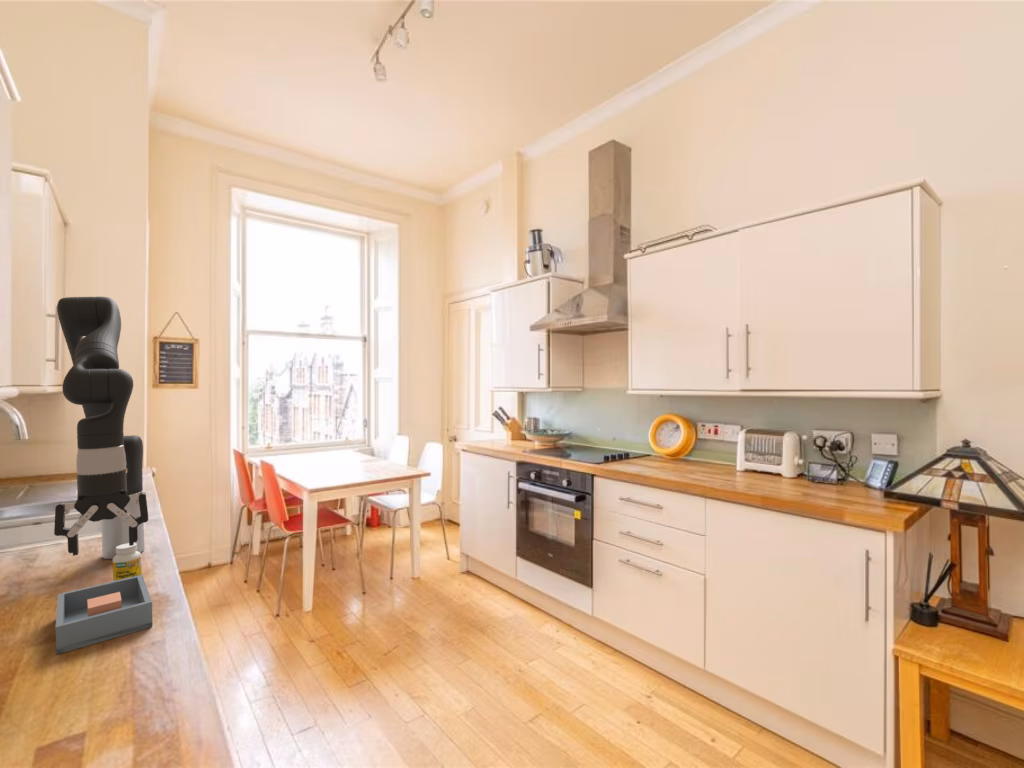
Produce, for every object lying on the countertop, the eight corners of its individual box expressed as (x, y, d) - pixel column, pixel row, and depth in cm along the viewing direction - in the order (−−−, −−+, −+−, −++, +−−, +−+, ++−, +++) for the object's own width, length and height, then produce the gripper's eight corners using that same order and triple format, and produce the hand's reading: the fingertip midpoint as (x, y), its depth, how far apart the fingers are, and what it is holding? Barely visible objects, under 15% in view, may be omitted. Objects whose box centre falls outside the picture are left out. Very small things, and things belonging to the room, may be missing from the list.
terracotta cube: (88, 634, 92) (87, 608, 92) (88, 624, 96) (87, 599, 96) (122, 625, 95) (121, 600, 95) (120, 615, 99) (119, 591, 99)
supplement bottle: (142, 578, 120) (141, 540, 119) (141, 586, 115) (139, 546, 115) (114, 583, 117) (113, 544, 116) (111, 592, 112) (110, 551, 112)
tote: (58, 617, 100) (57, 594, 100) (142, 596, 110) (142, 574, 110) (56, 654, 87) (55, 627, 87) (152, 626, 97) (151, 602, 96)
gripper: (50, 477, 89) (53, 564, 89) (146, 467, 98) (149, 546, 98) (55, 470, 95) (58, 552, 95) (146, 461, 104) (148, 536, 104)
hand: (104, 549), depth 97 cm, fingers open, 8 cm apart
